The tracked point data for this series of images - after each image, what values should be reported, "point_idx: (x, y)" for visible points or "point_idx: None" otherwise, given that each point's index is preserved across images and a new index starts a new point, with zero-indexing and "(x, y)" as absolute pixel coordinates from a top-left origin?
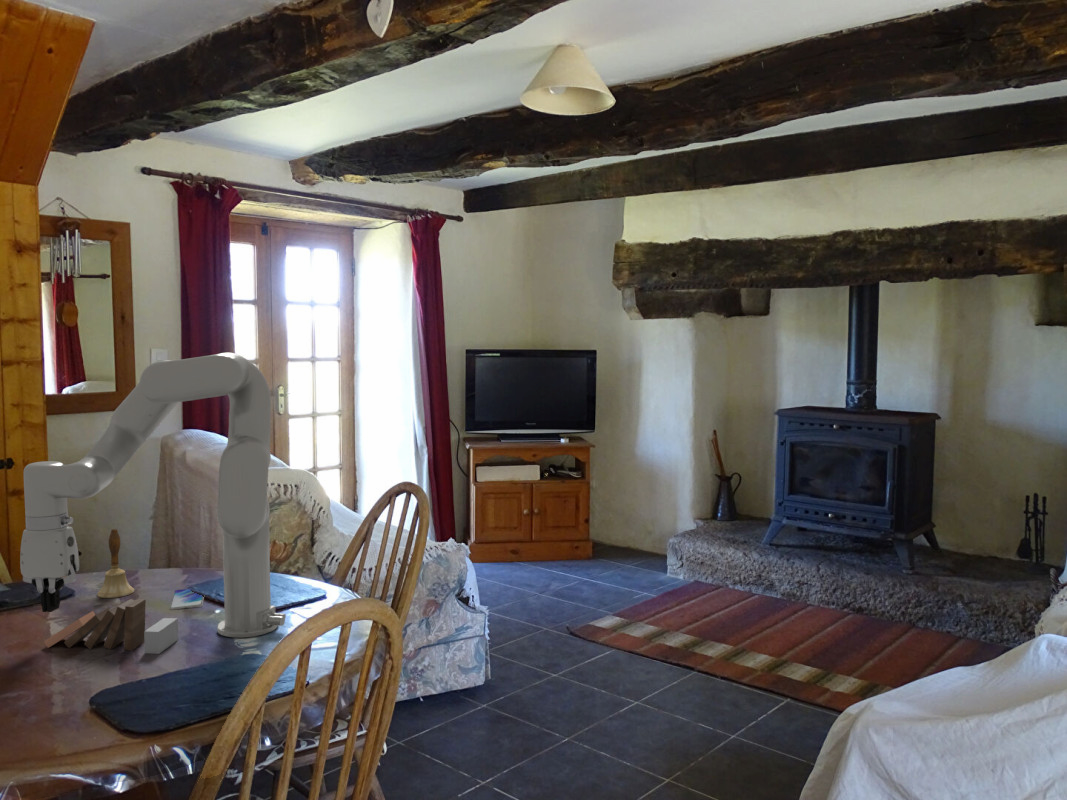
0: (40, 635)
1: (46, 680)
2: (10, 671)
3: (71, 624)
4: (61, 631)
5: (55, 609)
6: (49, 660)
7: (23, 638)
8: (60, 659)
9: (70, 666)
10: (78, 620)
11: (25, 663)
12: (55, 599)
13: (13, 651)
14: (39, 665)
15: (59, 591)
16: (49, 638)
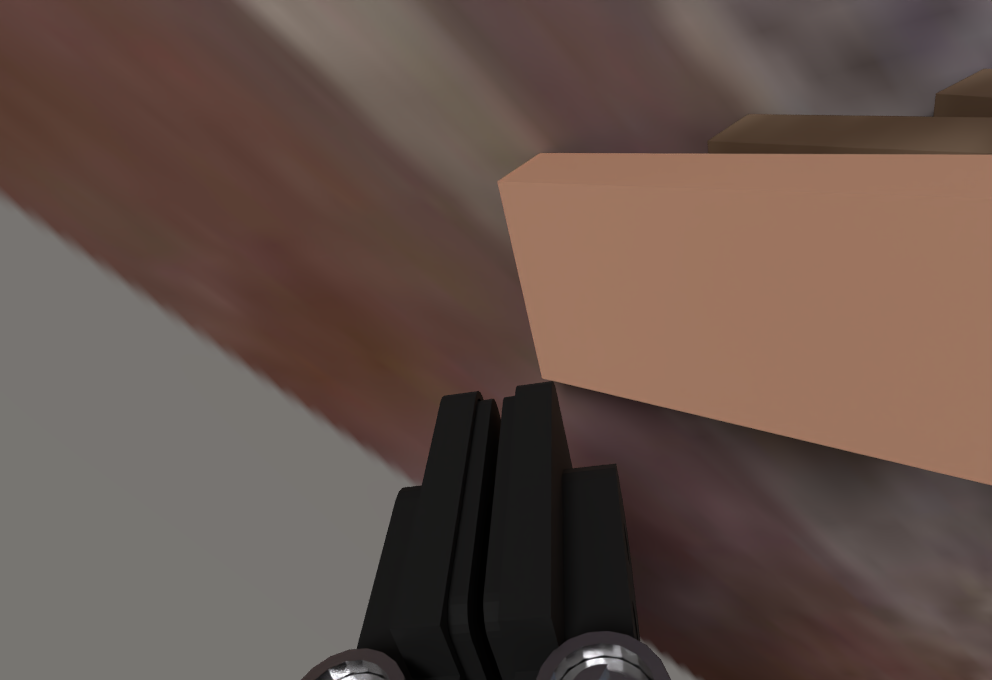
0: (253, 124)
1: (928, 677)
2: (641, 632)
3: (863, 448)
4: (725, 414)
5: (564, 440)
6: (759, 500)
7: (193, 224)
8: (826, 477)
9: (967, 543)
10: (979, 474)
11: (637, 553)
12: (637, 619)
13: (387, 436)
14: (748, 560)
15: (634, 638)
16: (594, 386)
